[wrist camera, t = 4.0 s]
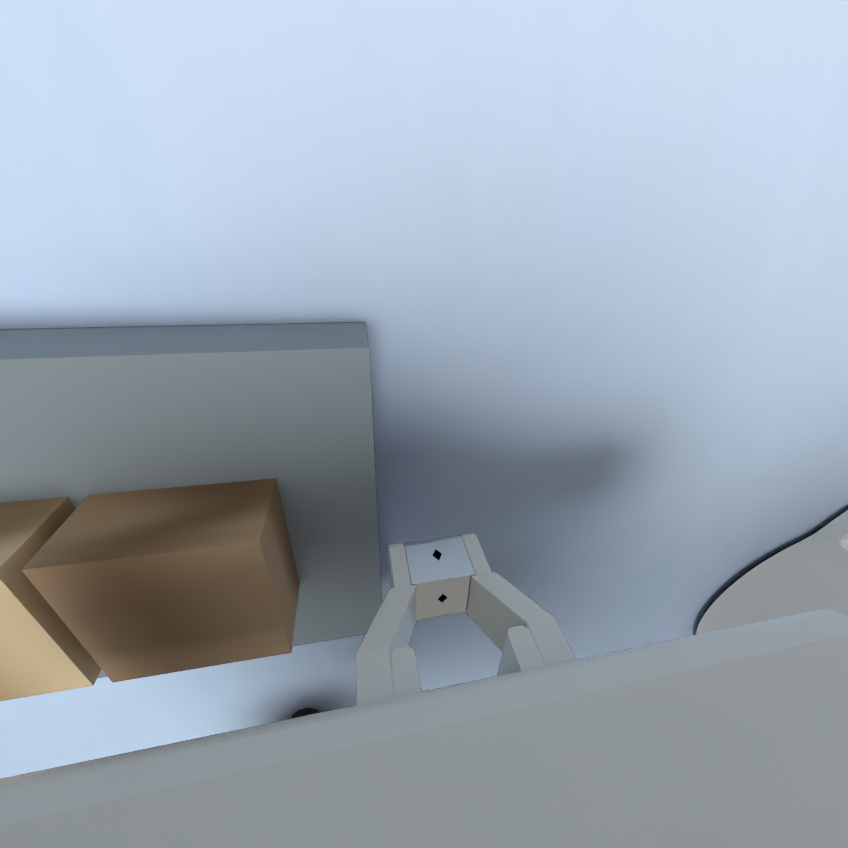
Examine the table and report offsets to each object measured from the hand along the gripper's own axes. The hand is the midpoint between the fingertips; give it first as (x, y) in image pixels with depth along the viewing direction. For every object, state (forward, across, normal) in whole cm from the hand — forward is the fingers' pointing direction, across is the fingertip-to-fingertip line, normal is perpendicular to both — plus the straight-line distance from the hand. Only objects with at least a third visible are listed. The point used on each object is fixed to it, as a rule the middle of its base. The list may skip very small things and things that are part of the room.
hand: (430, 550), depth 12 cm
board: (+4, +9, 0) cm, 9 cm away
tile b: (+1, +7, 0) cm, 7 cm away
